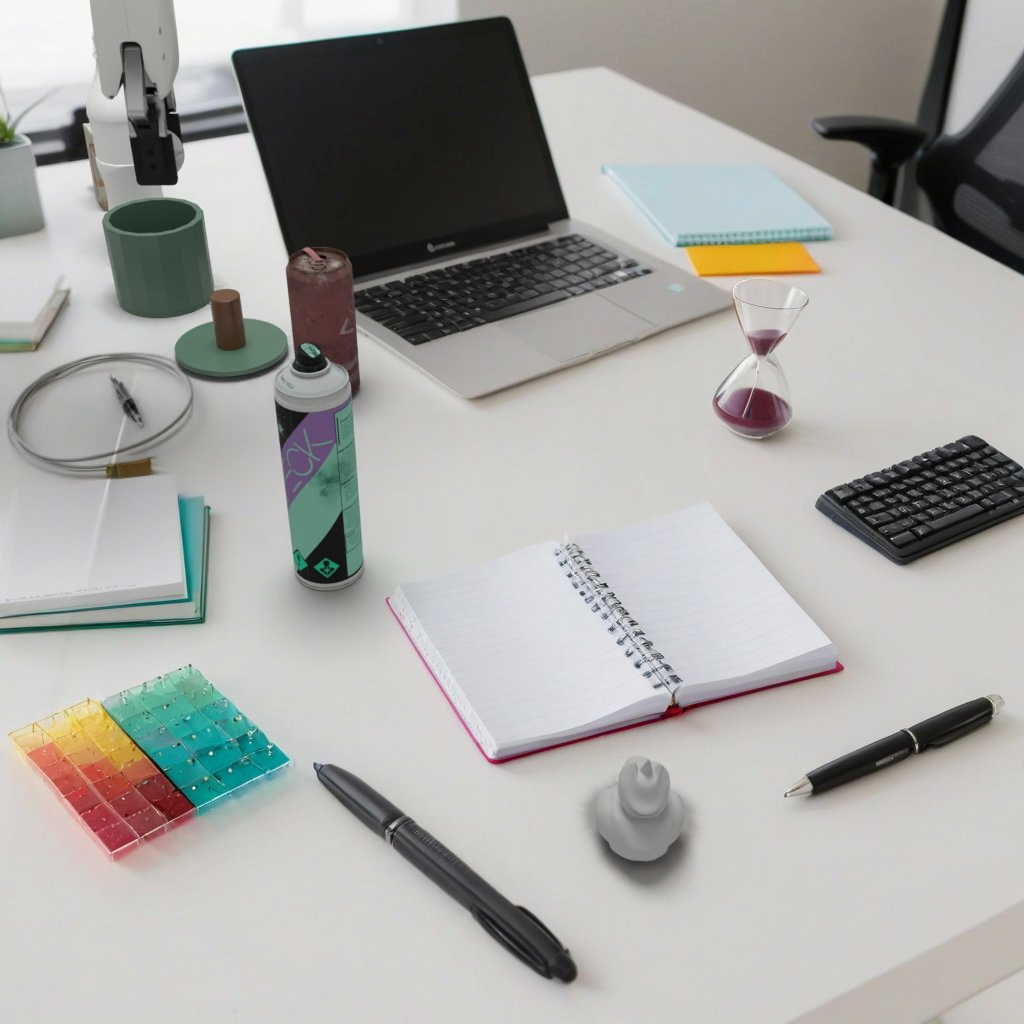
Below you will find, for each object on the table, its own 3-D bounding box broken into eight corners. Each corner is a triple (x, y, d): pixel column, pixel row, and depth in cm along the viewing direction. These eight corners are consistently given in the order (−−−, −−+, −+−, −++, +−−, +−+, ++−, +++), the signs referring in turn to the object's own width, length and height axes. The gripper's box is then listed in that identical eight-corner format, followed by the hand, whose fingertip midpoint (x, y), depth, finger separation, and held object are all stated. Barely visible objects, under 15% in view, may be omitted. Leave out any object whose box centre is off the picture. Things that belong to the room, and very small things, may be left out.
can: (333, 366, 118) (322, 237, 110) (372, 390, 114) (364, 259, 106) (284, 387, 115) (269, 256, 106) (323, 412, 111) (311, 278, 103)
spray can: (312, 541, 95) (289, 324, 83) (374, 554, 94) (360, 336, 82) (283, 582, 91) (254, 359, 79) (347, 597, 90) (328, 373, 78)
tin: (112, 319, 125) (95, 237, 119) (125, 277, 133) (110, 198, 128) (210, 315, 126) (198, 233, 121) (217, 274, 135) (206, 196, 129)
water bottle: (128, 234, 143) (88, 22, 128) (184, 239, 142) (150, 26, 127) (104, 259, 137) (59, 39, 122) (161, 263, 136) (124, 43, 121)
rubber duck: (594, 876, 70) (603, 789, 65) (591, 789, 75) (599, 703, 70) (683, 879, 70) (699, 793, 65) (675, 793, 75) (689, 707, 70)
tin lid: (170, 384, 115) (159, 324, 110) (182, 330, 124) (172, 272, 120) (287, 379, 116) (280, 319, 112) (289, 325, 125) (283, 268, 121)
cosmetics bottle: (103, 211, 148) (88, 134, 142) (95, 200, 151) (80, 123, 145) (144, 205, 150) (130, 127, 144) (135, 193, 153) (121, 117, 147)
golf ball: (142, 167, 96) (134, 119, 94) (191, 168, 97) (184, 120, 94) (133, 185, 93) (125, 136, 91) (183, 186, 94) (176, 137, 91)
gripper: (91, -95, 90) (129, 138, 101) (48, -48, 77) (97, 214, 88) (189, -93, 91) (217, 137, 102) (163, -46, 78) (198, 213, 89)
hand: (161, 170), depth 95 cm, fingers closed on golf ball, 4 cm apart
